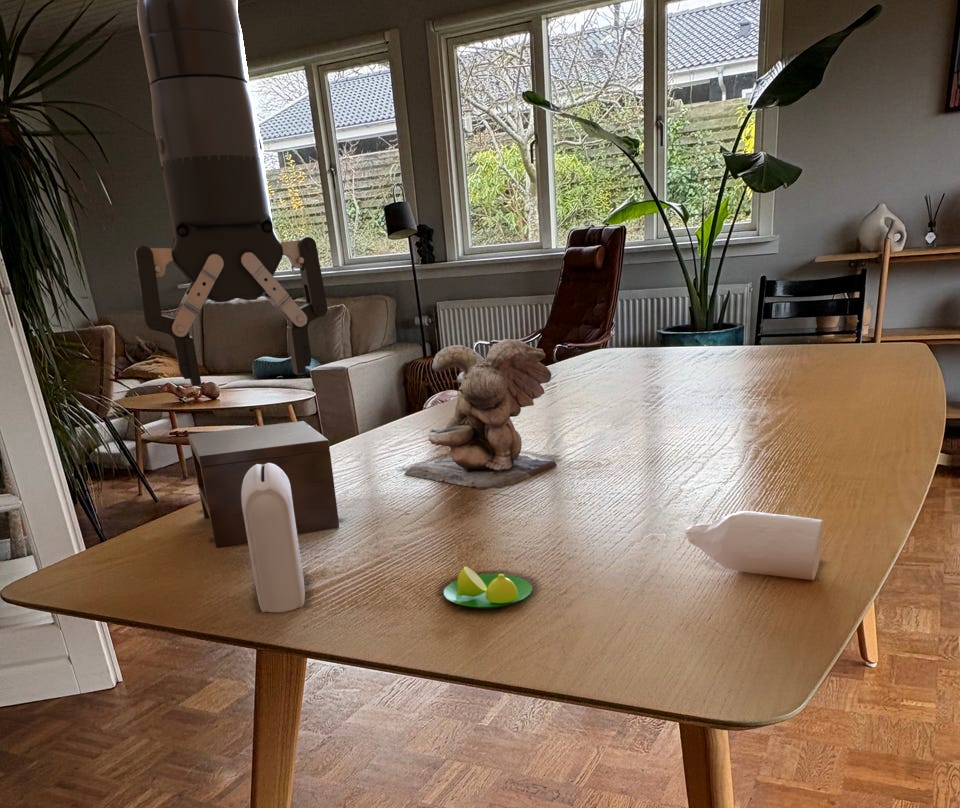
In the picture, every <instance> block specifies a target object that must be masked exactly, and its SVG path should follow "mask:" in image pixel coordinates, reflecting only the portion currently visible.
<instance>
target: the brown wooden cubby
mask: <svg viewBox="0 0 960 808" xmlns="http://www.w3.org/2000/svg"><path fill="white" fill-rule="evenodd" d="M187 435H188V436H187V437H188V441H189V446H190V451H191V457H192V462H193V467H194V472H195V477H196V482H197V488H198V494H199V498H200V503H201V509H202V514H203V518H204V519H210V524H211V529H212V534H213V539H214V545H215V548H223V547H229V546H236V545H242V544H248V539H247V533H246V527H245V521H244V515H243V510H242V501H241V490H242V483H243V480H244V477H245V475H246V473H247V472H248V470H249V469H250V468H251V467H253V466H254V465H256V464H267V463H272V464H275V465H277V466H278V467H280V468H281V469H282V470H283V471H284V473H285V474H286V476H287V477H288V479H289V482H290V486H291V493H292V501H293V508H294V515H295V522H296V530H297V536H299V535H305V534H310V533H315V532H323V531H328V530H329V531H330V530H336V529H340V519H339V512H338V503H337V497H336V488H335V481H334V480H335V479H334V472H333V465H332V464H333V463H332V455H331V449H330V441H329V439H328V438H327V437H325V436H324V435H322V434H321V433H320V432H319V431H317V430H316V429H314V427H312V426H311V425H309V424H308V423H307V422H305V421H304V420H301V421H291V422H282V423H275V424H273V423H272V424H265V425H256V426H247V427H239V428H231V429H222V430H215V431H214V430H213V431H206V432H196V433H188V434H187Z"/></svg>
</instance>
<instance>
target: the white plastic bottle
mask: <svg viewBox="0 0 960 808" xmlns="http://www.w3.org/2000/svg"><path fill="white" fill-rule="evenodd" d="M824 529H825V523H824V520H823V519H818V518H812V517H804V516H796V515H787V514H777V513H768V512H764V511H762V512H761V511H752V510H741V511H738V512H737V511H736V512H734V513H731V514H728V515H724V516H722V517H720V518H718V519H715V520H713V521H712V522H711V523H699V524H693V525H691V526H688V527H687V528H686V529H685V530H684V533H685V535H686V537H687V541H688V543H690V544H692V545H693V546H694V547H696V548H698V549H699V550H700V551H702V552H703V553H704V554H705V555H707V556H708V557H709V558H710V559H711V560H712V561H714V562H715V563H716V564H718V565H720V567H722V568H723V569H726V570H730V571H736V572H742V573H749V574H750V573H752V574H757V575H758V574H759V575H767V576H772V577H773V576H774V577H783V578H789V579H790V578H791V579H800V580H806V581H814V580H815V578H816V575H817V572H818V569H819V566H820V565H819V564H820V561H821V560H820V559H821V556H822V546H823V539H824Z"/></svg>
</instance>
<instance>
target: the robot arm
mask: <svg viewBox="0 0 960 808" xmlns="http://www.w3.org/2000/svg"><path fill="white" fill-rule="evenodd" d="M137 20H138V21H137V22H138V29H139V34H140V39H141V45H142V50H143V56H144V61H145V67H146V72H147V76H148V83H149V90H150V95H151V96H150V97H151V111H152V112H151V113H152V122H153V123H152V124H153V129H154V135H155V140H156V148H157V151H158V156H159V160H160V167H161V172H162V178H163V183H164V188H165V194H166V197H167V204H168V210H169V214H170V218H171V219H170V220H171V225H172V231H173V242H172V245H171V247H149V246H146V245H139V246H137V247H136V249H135V251H134V257H135V264H136V271H137V272H136V273H137V278H138V285H139V291H140V297H141V305H142V312H143V318H144V323H145V324H146V326H147V328H148V329H150V330H152V331H156V332H160V333H164V334H167V335H169V336H171V338H172V341H173V345H174V349H175V355H176V360H177V366H178V371H179V373H180V374H181V376H182V378H183V379H184V380H189V381H190V385H191V386H192V387H198V386H199V387H200V386H202V379H201V373H200V368H199V363H198V358H197V353H196V348H195V342H194V337H192V336H191V335H190V329H191V327H192V325H193V324H194V321H195V319H196V318H197V315H198V314H199V313H200V311H201V309H202V307H203V306H204V303H205V302H206V300H208V301H212V302H214V303H228V302H230V301H233V300H236V299H239V300H244V301H257V300H258V299H259V298H261V297H262V296H263V297H264V298H265V299H266V300H267V301H268V302H269V303H270V304H271V305H272V306H273V307H274V308H275V309H276V311H278V313H280V314H281V315H282V317H284V318H285V320H286V321H287V322H288V326H286V333H287V341H288V346H289V354H290V360H291V361H290V362H291V369H292V373H293V374H294V375H296V376H300V375H306V371H307V370H306V367H311V363H312V353H311V345H310V338H309V330H308V328H309V325H310V323H312V322H313V321H315V320H317V319H319V318H321V317H325V316H326V315H327V313H328V310H329V309H328V302H327V297H326V292H325V287H324V280H323V275H322V269H321V264H320V258H319V252H318V247H317V242H316V240H315V239H314V238H313V237H311V236H306V237H300V238H298V239H297V240H289V241H280V240H279V238H278V236H277V234H276V232H275V230H274V224H273V218H272V217H273V216H272V211H271V203H270V197H269V191H268V190H269V189H268V183H267V175H266V168H265V167H266V166H265V161H264V144H263V139H262V137H261V133H260V127H259V120H258V116H257V115H258V114H257V112H256V108H255V104H254V101H253V96H252V92H251V87H250V84H249V83H250V81H249V74H248V66H247V61H246V59H247V58H246V54H245V53H246V52H245V46H244V40H243V39H244V38H243V32H242V28H241V24H240V18H239V13H238V0H137ZM284 256H285V257H286V258H288V260H289V263H290V264H291V266H292V267H293V268H295V269H299V273H300V278H301V284H302V289H303V293H304V299H305V304H303V305H301V306H299V305H298V304H297V302H296V301H294V299H292V297H291V295H290V294H289V292H288V291H287V290H286V289H285V288H284V287H283V286H282V285H281V283H280V282H279V281H278V280H277V279H276V278H275V277H274V275H275V274H276V271H277V270H278V267H279V265H280V263H281V262H282V259H283V257H284ZM170 262H173V264H174V265H175V266H176V267H177V269H178V271H180V272H181V273H182V274H183V275H184V276H185V277H186V278H187V280H188V281H189V282H190V283H189V285H188V287H187V289H186V291H185V293H184V295H183V297H182V299H181V301H180V304H179V306H178V307H177V309H176V312H174V313H175V314H174V315H173V317H170V316H168V315H167V316H166V315H164V314H162V309H161V308H162V307H161V301H160V294H159V286H158V279H157V278H161V277H163V276H164V275H165V274H166V271H167V270H166V269H167V265H168V264H169V263H170Z"/></svg>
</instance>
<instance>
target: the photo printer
mask: <svg viewBox="0 0 960 808" xmlns="http://www.w3.org/2000/svg"><path fill="white" fill-rule="evenodd" d="M241 501H242V510H243V515H244V521H245V527H246V533H247V539H248V543H247V544H248V550H249V556H250V562H251V568H252V574H253V579H254V585H255V590H256V596H257V600H258V604H259V607H260V610H261V612H262V613H265V612H266V613H267V612H269V613H284V612H290V611H293V610H295V609H298V608H302V607H303V606H304V605H305V598H306V593H305V592H306V590H305V578H304V570H303V563H302V557H301V551H300V544H299V537H298V535H297V530H296V522H295V515H294V508H293V501H292V493H291V486H290V482H289V479H288V477H287V476H286V474H285V473H284V471H283V470H282V469H281V468H280V467H278V466H277V465H275V464H272V463H267V464H256V465H254V466H253V467H251V468H250V469H249V470H248V472H247V473H246V475H245V477H244V480H243V483H242V490H241Z"/></svg>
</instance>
